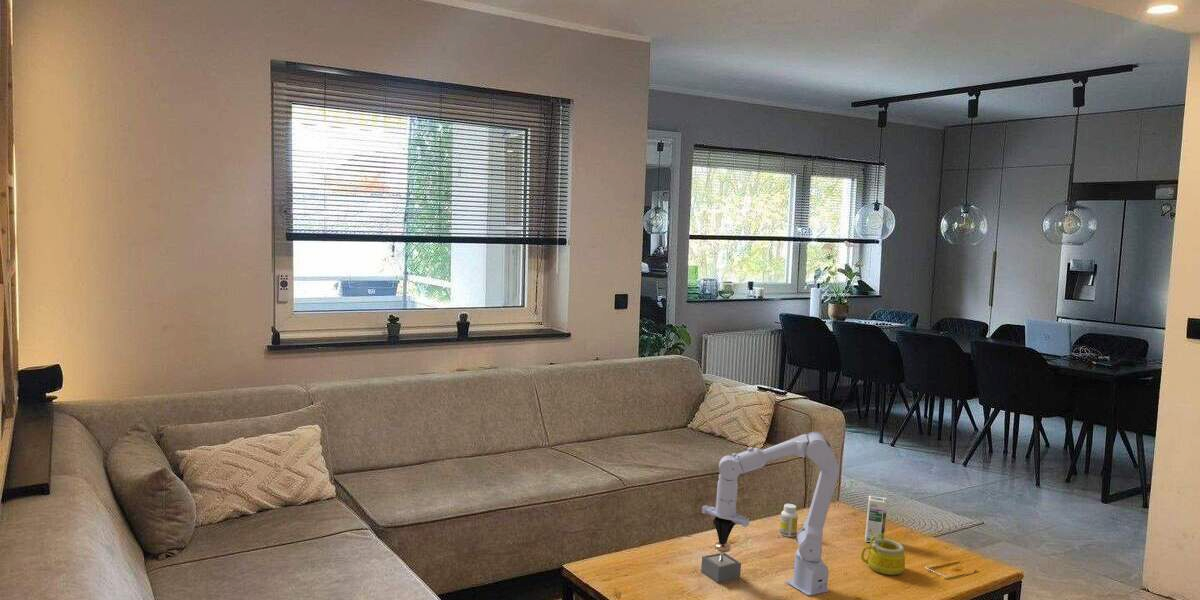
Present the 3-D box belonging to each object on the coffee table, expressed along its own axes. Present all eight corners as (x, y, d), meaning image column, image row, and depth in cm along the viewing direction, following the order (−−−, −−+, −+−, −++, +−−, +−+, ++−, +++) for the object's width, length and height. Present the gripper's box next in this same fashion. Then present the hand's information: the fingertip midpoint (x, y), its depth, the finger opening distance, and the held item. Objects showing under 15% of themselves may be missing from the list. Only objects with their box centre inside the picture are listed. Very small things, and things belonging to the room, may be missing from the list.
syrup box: (864, 542, 277) (869, 499, 276) (864, 536, 283) (869, 494, 281) (883, 545, 276) (887, 502, 274) (882, 539, 281) (887, 497, 280)
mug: (902, 565, 261) (906, 528, 259) (905, 580, 250) (909, 541, 249) (859, 558, 264) (863, 521, 263) (860, 572, 254) (864, 534, 252)
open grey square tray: (739, 579, 244) (741, 562, 243) (717, 584, 240) (718, 567, 239) (722, 568, 251) (724, 552, 250) (700, 572, 247) (702, 556, 246)
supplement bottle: (795, 531, 283) (797, 503, 282) (797, 538, 277) (799, 509, 276) (778, 530, 283) (781, 502, 282) (780, 536, 278) (783, 507, 277)
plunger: (736, 564, 244) (737, 547, 243) (719, 567, 241) (720, 550, 240) (723, 556, 249) (724, 539, 248) (706, 559, 246) (708, 542, 246)
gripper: (755, 501, 241) (751, 547, 243) (712, 488, 250) (708, 532, 252) (743, 507, 236) (739, 553, 237) (699, 493, 245) (695, 538, 246)
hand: (722, 543), depth 244 cm, fingers closed
